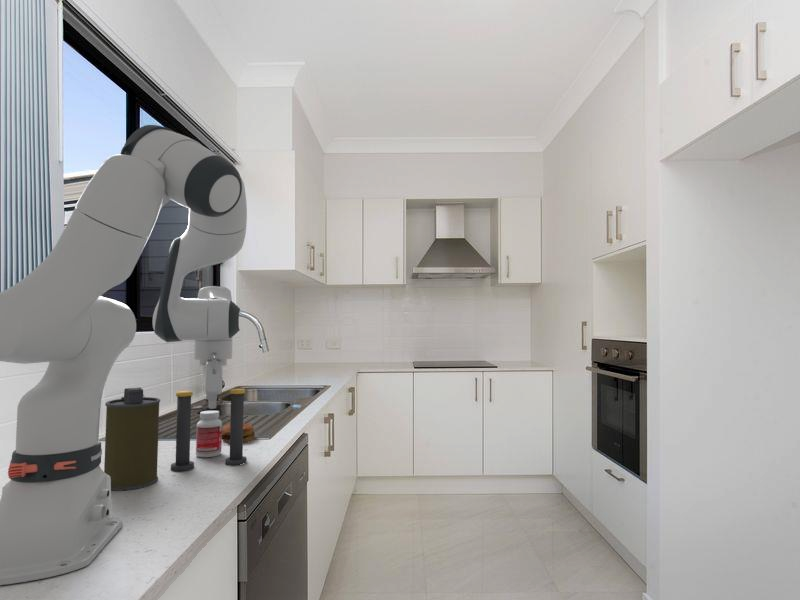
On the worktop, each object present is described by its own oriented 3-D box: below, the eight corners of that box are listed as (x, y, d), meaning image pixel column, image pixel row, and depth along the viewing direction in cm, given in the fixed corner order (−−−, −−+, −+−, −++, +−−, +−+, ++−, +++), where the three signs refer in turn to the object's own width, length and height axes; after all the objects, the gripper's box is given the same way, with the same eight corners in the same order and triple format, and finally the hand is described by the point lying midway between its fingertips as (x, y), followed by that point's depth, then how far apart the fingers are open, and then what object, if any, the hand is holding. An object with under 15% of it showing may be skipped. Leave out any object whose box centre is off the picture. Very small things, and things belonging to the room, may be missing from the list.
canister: (164, 483, 104) (167, 389, 105) (109, 494, 97) (112, 393, 98) (149, 471, 112) (151, 384, 113) (96, 481, 105) (100, 387, 106)
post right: (247, 464, 118) (249, 390, 119) (225, 466, 116) (227, 391, 117) (245, 459, 123) (247, 387, 124) (224, 461, 121) (226, 388, 122)
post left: (193, 469, 114) (195, 392, 114) (170, 472, 112) (172, 394, 112) (193, 464, 118) (195, 390, 119) (171, 466, 116) (173, 391, 117)
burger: (237, 435, 149) (238, 419, 149) (261, 438, 145) (261, 422, 145) (212, 442, 140) (212, 425, 141) (236, 446, 136) (237, 429, 136)
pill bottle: (223, 455, 126) (224, 412, 126) (198, 459, 122) (199, 415, 123) (218, 450, 131) (219, 408, 131) (193, 453, 127) (194, 411, 128)
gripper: (229, 354, 113) (227, 414, 113) (225, 349, 132) (223, 400, 131) (199, 354, 111) (198, 416, 110) (199, 349, 130) (198, 402, 129)
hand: (212, 407), depth 121 cm, fingers closed
